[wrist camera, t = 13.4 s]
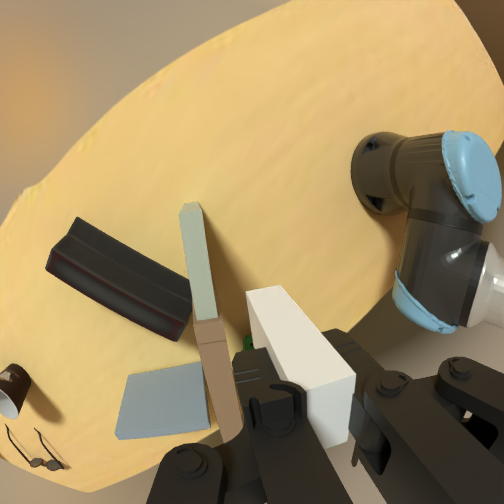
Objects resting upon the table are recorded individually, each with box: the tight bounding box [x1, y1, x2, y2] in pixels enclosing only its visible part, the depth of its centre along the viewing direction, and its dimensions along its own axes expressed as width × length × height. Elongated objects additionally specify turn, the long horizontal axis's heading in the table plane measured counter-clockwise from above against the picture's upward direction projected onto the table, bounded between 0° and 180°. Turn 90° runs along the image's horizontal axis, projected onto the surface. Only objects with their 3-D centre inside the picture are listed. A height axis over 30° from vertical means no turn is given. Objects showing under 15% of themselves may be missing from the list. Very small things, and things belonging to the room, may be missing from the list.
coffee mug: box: [0, 364, 31, 419], centre depth 35 cm, size 12×9×10 cm
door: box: [115, 361, 211, 440], centre depth 38 cm, size 14×3×15 cm, turn 101°
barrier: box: [45, 217, 193, 342], centre depth 37 cm, size 24×9×10 cm, turn 58°
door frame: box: [179, 202, 243, 443], centre depth 36 cm, size 3×38×19 cm, turn 6°
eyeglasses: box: [5, 424, 64, 471], centre depth 42 cm, size 15×15×5 cm
